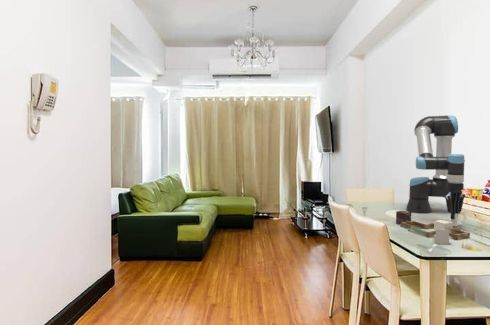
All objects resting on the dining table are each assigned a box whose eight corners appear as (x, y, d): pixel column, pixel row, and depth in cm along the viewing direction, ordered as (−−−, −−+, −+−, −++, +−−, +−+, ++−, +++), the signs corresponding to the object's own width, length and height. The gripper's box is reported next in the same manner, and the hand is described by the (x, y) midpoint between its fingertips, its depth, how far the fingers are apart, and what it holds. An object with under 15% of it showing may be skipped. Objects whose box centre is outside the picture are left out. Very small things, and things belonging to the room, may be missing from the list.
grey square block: (433, 242, 153) (433, 227, 152) (449, 243, 151) (450, 228, 150) (435, 244, 150) (435, 229, 149) (451, 245, 147) (452, 230, 147)
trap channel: (427, 223, 185) (427, 219, 185) (476, 236, 159) (476, 232, 158) (396, 227, 178) (396, 222, 178) (442, 242, 151) (442, 237, 151)
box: (404, 225, 180) (405, 213, 180) (395, 223, 186) (395, 211, 185) (411, 224, 183) (411, 212, 183) (402, 222, 188) (402, 210, 188)
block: (441, 228, 174) (442, 219, 174) (452, 231, 168) (452, 222, 168) (434, 229, 172) (434, 220, 172) (444, 232, 166) (444, 223, 166)
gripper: (457, 181, 177) (456, 222, 178) (440, 182, 173) (439, 224, 174) (470, 182, 170) (469, 225, 171) (453, 183, 165) (451, 227, 167)
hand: (453, 224), depth 173 cm, fingers closed
